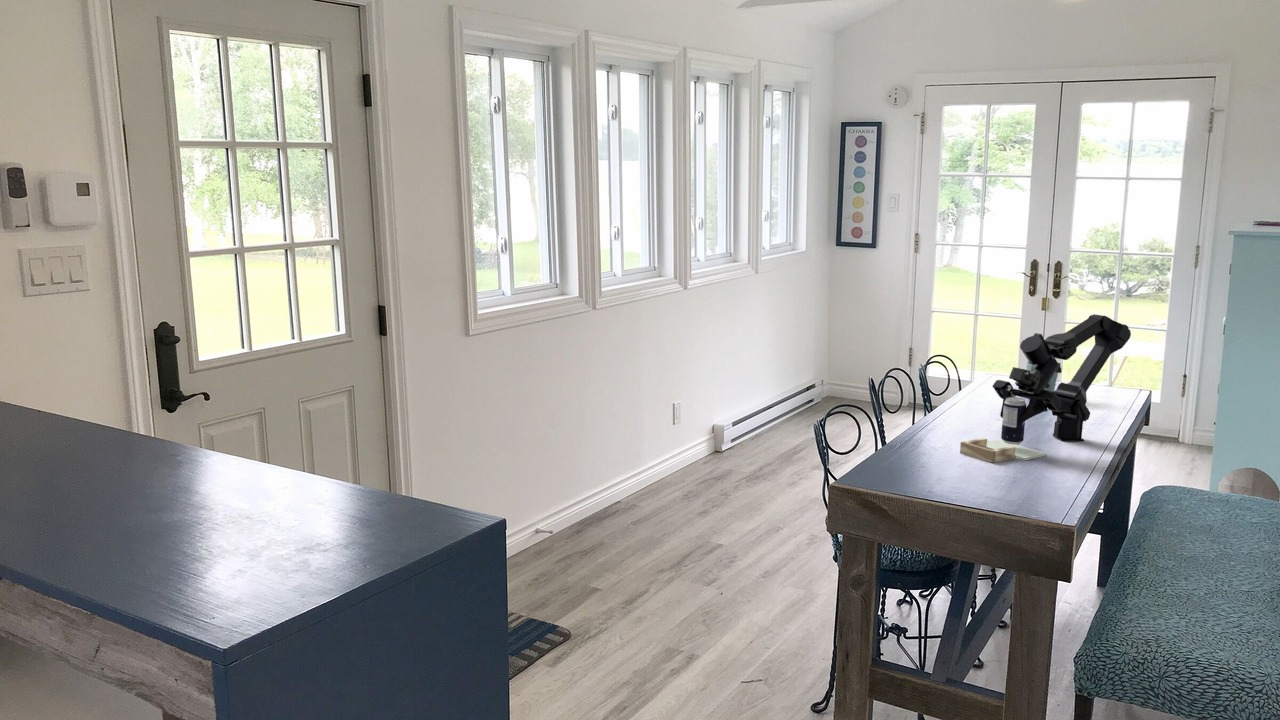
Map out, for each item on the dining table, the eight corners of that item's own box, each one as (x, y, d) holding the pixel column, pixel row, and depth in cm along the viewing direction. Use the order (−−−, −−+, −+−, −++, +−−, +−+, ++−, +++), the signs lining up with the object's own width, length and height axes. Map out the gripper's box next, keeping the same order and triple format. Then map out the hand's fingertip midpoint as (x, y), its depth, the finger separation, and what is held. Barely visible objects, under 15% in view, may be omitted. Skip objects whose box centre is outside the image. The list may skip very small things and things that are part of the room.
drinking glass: (1032, 393, 337) (1035, 359, 335) (1061, 398, 330) (1064, 363, 328) (1018, 397, 330) (1021, 363, 328) (1047, 403, 323) (1051, 367, 321)
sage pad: (997, 441, 276) (997, 439, 276) (1046, 455, 262) (1046, 453, 262) (975, 445, 271) (975, 443, 271) (1024, 460, 258) (1025, 458, 258)
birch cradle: (982, 448, 268) (983, 437, 268) (1014, 457, 260) (1015, 446, 259) (959, 452, 264) (960, 442, 263) (991, 462, 255) (992, 451, 254)
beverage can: (1024, 445, 263) (1028, 402, 261) (1002, 444, 264) (1006, 401, 262) (1021, 440, 269) (1024, 397, 266) (999, 438, 270) (1002, 396, 267)
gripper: (999, 351, 272) (969, 394, 268) (1058, 362, 256) (1027, 408, 253) (1015, 375, 277) (986, 418, 274) (1074, 388, 262) (1045, 434, 258)
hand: (1010, 419), depth 264 cm, fingers closed on beverage can, 6 cm apart
